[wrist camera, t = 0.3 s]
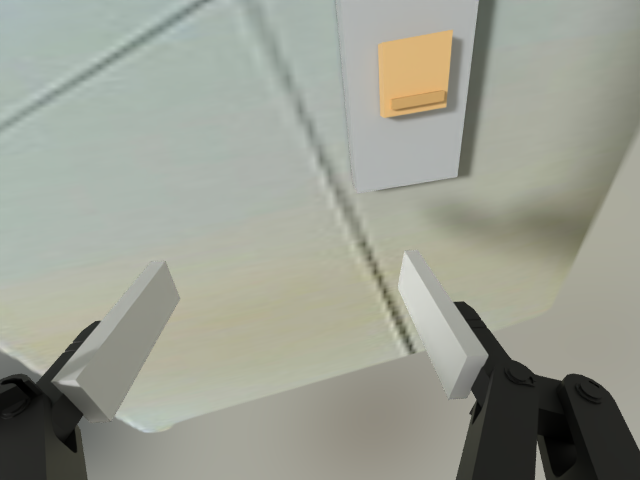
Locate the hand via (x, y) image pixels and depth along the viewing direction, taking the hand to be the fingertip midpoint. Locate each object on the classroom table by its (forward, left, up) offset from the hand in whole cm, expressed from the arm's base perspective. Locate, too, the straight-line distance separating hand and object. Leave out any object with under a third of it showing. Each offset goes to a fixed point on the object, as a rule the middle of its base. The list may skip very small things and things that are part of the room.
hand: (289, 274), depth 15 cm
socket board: (-8, +15, -27) cm, 31 cm away
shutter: (-8, +14, -23) cm, 28 cm away
